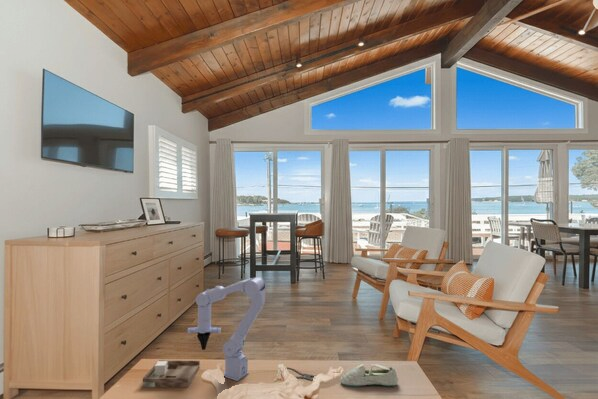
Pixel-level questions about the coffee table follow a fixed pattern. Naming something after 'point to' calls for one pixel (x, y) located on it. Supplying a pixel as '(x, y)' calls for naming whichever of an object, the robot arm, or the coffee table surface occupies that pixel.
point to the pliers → (303, 375)
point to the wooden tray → (173, 374)
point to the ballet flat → (369, 376)
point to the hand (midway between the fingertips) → (204, 348)
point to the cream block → (161, 367)
